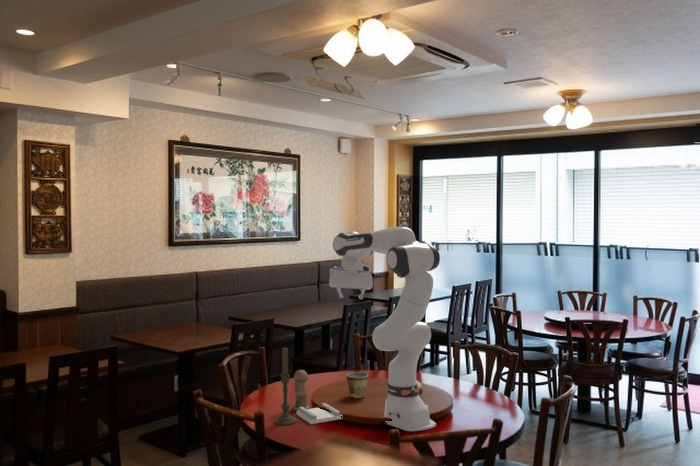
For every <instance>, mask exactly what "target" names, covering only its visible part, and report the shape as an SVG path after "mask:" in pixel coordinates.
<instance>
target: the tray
mask: <svg viewBox="0 0 700 466" xmlns="http://www.w3.org/2000/svg"><path fill="white" fill-rule="evenodd" d="M322 405H323V406H324V407H326V408H327V409H329V411H331V413H330V412H328V411H326V410H323V409H320V408H319V407H313V408H309V409H305V408H304V407H299V411H296V415H297V416H298V417H299V418H301V419H302V420H304V421H306V422H307V423H308V424H310V425H315V424H320V423H327V422H332V421H338V420H343V414H341V411H339V410H338V409H336V408H334V406H331V405H330V404H328V403H326V402H322V403H321V406H322ZM340 414H341V415H340ZM341 416H342V418H341Z"/></svg>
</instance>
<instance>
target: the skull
mask: <svg viewBox="0 0 700 466" xmlns="http://www.w3.org/2000/svg"><path fill="white" fill-rule="evenodd" d="M416 384H417V386H418V389H420V390H418V391H420V392H419V395H421V394H422V393H423V386H422V384H421V382H419V381H418V380H417V379H416Z"/></svg>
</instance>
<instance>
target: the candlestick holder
mask: <svg viewBox="0 0 700 466" xmlns="http://www.w3.org/2000/svg"><path fill="white" fill-rule="evenodd" d="M281 350H282V351H281V353H282V355H281V356H282V359H281V361H282V367H281V368H282V374H280V378H281V380H280V382H281V383H282V392H283V393H282V394H283V397H282V398H283V403H282V404H281V405H280V408H281V410H282V413H281V415H278V416H277V417H276V418H275V419H274V420H273V423H274V424H276V425H279V426H290V425H294V424H296V423H297V422H298V419H297V418H296V417H295V416H293V415H291V414H289V410H290V407H291V405H290V404H289V403H288V391H289V388H288V387H289V386H288V384H289V382H290V377H291V375H290V374H289V372H288V371H289V356H288V354H289V353H288V352H289V351H288V350H289V349H288V347H282V348H281Z"/></svg>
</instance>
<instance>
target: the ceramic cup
mask: <svg viewBox="0 0 700 466" xmlns="http://www.w3.org/2000/svg"><path fill="white" fill-rule="evenodd" d="M345 375H346V381H347V384H348V390H349V394H350V393H351V394H355V395H362V394H365V395H366V388H367V383H368V380H369V374H368V373H366V372H362V371H361V372H360V371H359V372H357V371H354V372H349V373H346V374H345Z"/></svg>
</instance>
